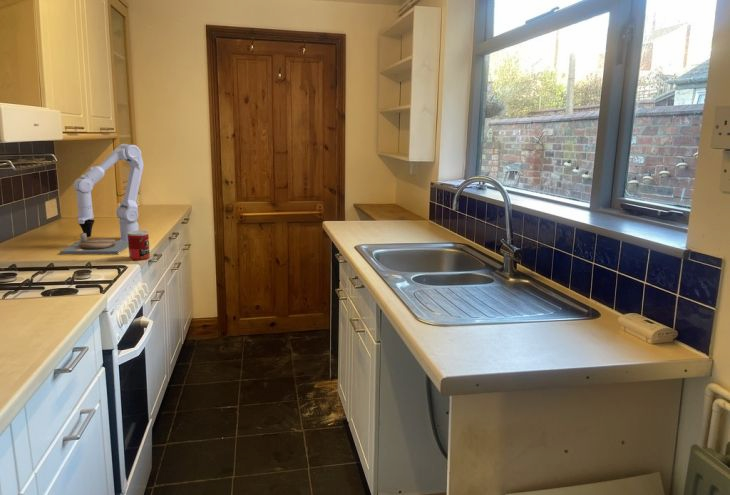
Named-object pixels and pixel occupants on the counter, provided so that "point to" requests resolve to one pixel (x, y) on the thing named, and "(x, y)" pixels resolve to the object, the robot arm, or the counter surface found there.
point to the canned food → (138, 245)
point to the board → (110, 250)
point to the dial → (95, 242)
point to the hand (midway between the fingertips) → (87, 236)
